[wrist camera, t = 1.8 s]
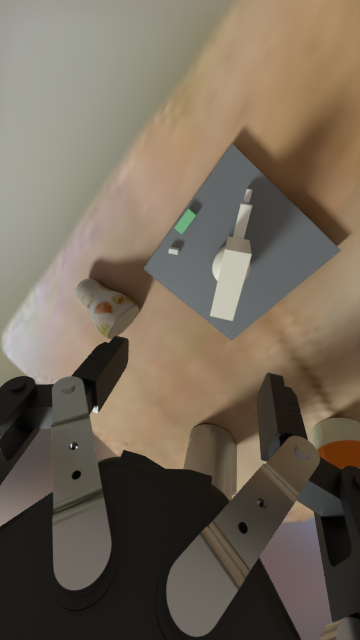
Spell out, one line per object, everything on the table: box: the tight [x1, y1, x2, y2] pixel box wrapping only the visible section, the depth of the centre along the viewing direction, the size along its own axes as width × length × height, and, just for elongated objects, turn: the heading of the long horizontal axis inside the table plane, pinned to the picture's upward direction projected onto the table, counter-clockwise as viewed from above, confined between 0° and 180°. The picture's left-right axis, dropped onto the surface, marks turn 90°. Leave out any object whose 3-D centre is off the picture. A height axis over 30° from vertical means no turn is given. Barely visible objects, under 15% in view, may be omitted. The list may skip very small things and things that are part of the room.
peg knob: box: [210, 203, 252, 321], centre depth 26 cm, size 10×4×9 cm, turn 175°
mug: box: [76, 279, 139, 339], centre depth 38 cm, size 8×10×10 cm
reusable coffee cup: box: [311, 417, 360, 469], centre depth 38 cm, size 13×13×15 cm
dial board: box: [143, 144, 341, 340], centre depth 31 cm, size 17×18×2 cm
